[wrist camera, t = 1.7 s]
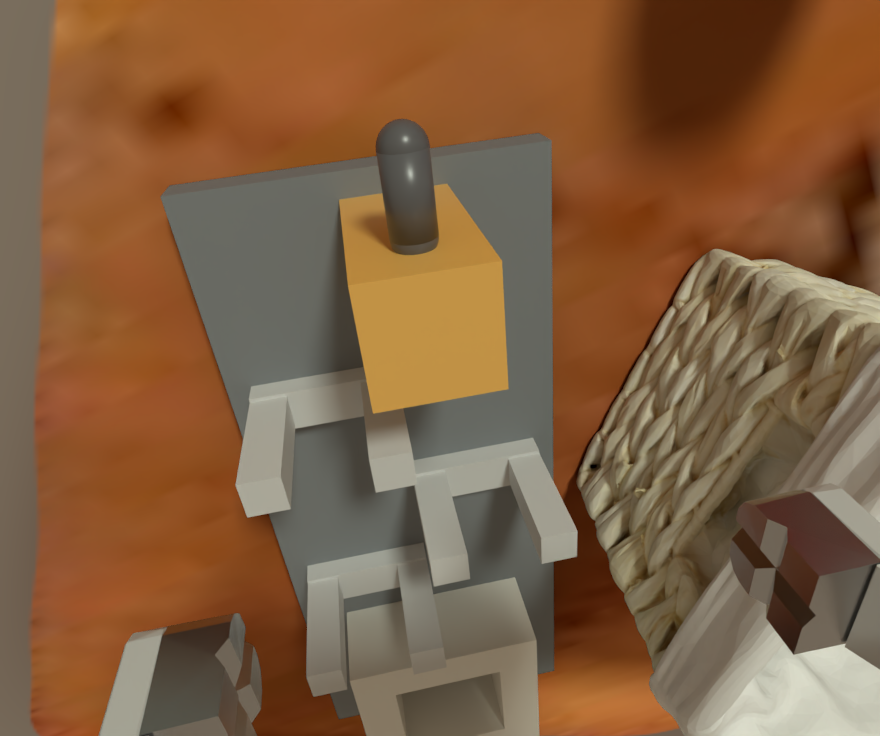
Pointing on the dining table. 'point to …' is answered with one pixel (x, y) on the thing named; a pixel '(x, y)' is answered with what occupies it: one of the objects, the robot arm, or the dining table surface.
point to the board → (392, 445)
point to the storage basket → (738, 487)
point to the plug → (421, 283)
